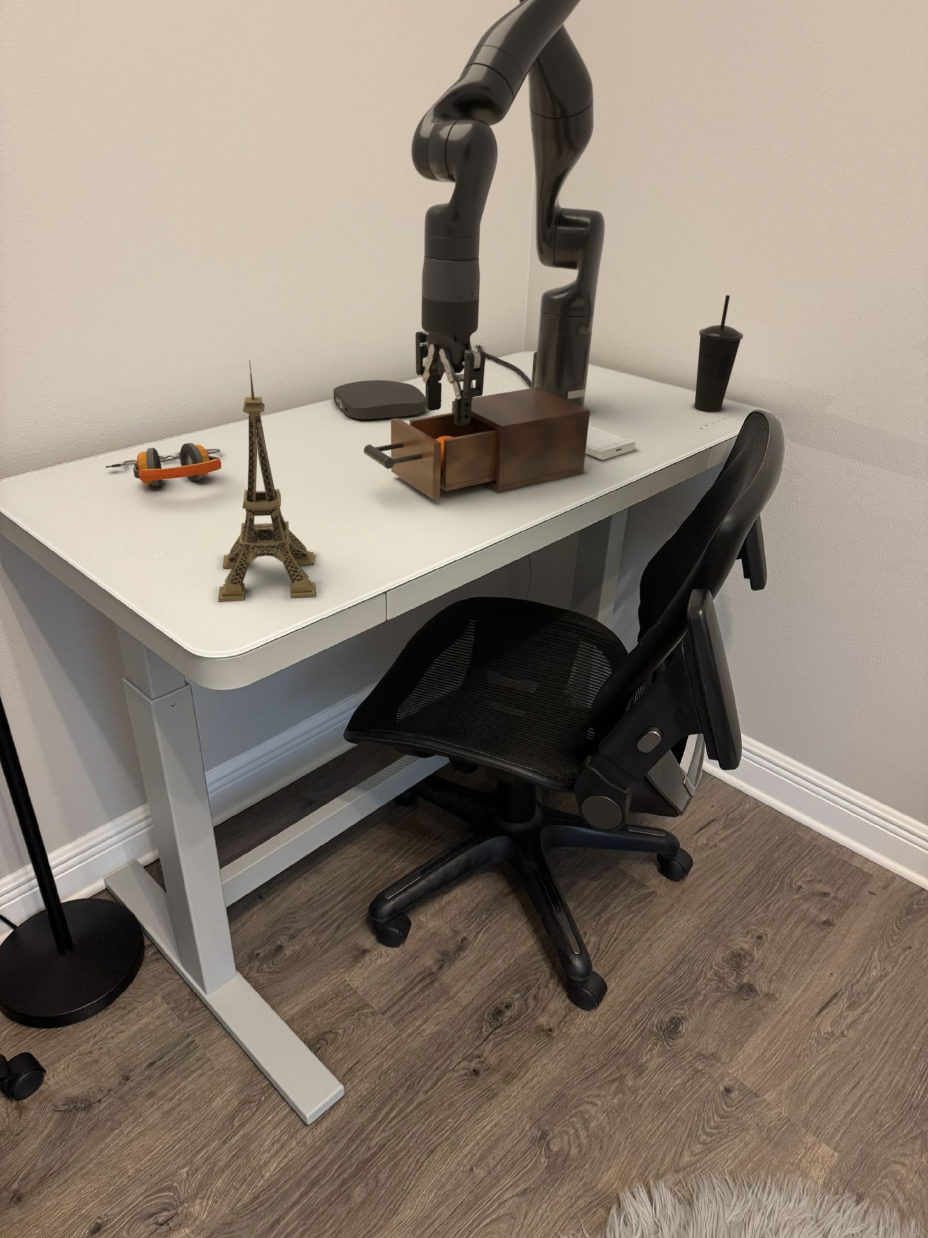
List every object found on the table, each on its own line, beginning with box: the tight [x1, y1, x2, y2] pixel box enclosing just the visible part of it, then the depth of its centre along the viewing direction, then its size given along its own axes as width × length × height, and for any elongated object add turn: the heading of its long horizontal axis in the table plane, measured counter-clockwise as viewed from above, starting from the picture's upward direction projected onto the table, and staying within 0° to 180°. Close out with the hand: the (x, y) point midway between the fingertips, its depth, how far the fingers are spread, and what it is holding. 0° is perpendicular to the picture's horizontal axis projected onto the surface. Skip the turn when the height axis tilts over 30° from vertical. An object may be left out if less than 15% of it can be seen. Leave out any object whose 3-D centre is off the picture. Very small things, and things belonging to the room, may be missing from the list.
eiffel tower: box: [217, 359, 316, 602], centre depth 97 cm, size 11×11×25 cm
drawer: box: [363, 412, 498, 500], centre depth 126 cm, size 20×12×8 cm, turn 123°
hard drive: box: [585, 424, 636, 461], centre depth 146 cm, size 2×8×12 cm
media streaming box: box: [333, 379, 427, 420], centre depth 159 cm, size 15×15×3 cm
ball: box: [436, 436, 454, 471], centre depth 127 cm, size 5×5×5 cm
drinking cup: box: [694, 294, 744, 413], centre depth 161 cm, size 8×8×20 cm
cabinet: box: [451, 387, 591, 493], centre depth 133 cm, size 16×13×10 cm
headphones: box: [104, 442, 222, 487], centre depth 126 cm, size 17×5×20 cm
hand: (447, 416), depth 125 cm, fingers open, 7 cm apart
